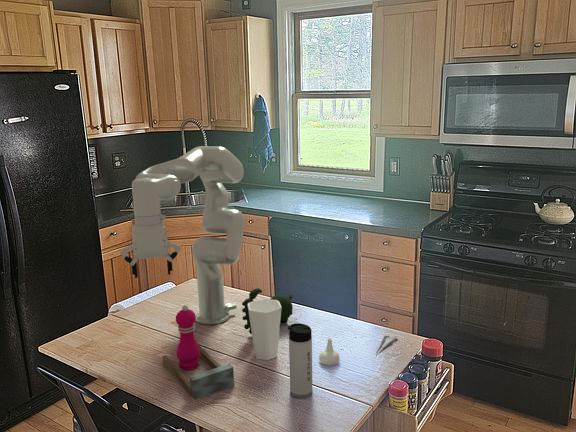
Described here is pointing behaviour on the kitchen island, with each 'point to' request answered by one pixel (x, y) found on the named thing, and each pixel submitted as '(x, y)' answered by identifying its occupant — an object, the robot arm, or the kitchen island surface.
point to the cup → (265, 327)
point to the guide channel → (204, 377)
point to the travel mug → (300, 360)
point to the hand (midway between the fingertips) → (152, 274)
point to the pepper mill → (187, 340)
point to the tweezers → (386, 344)
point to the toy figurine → (283, 300)
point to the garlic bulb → (329, 355)
